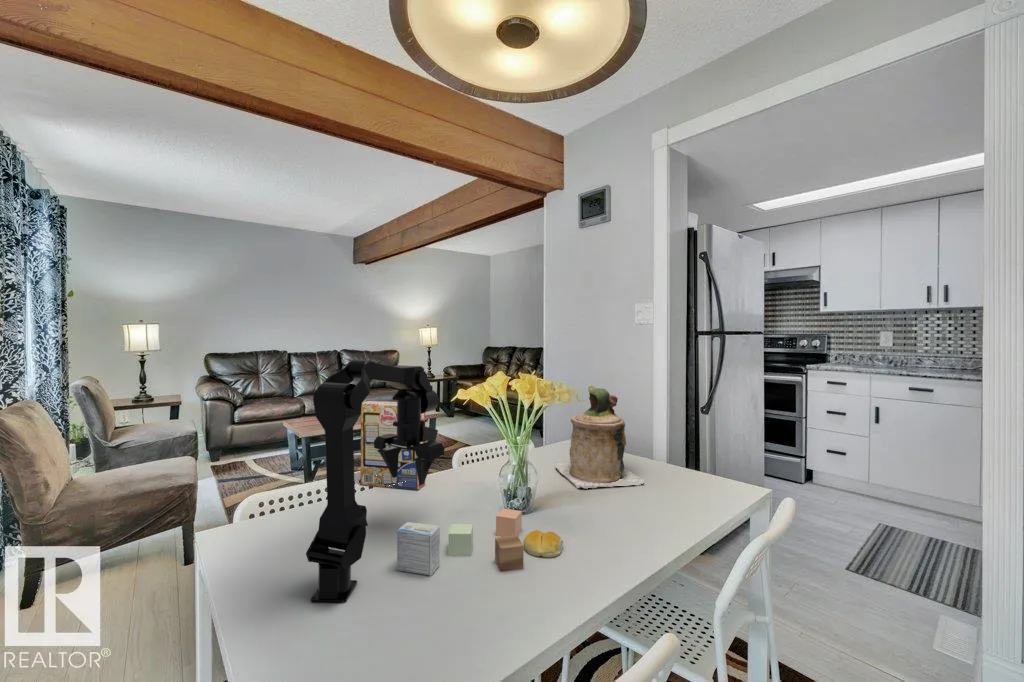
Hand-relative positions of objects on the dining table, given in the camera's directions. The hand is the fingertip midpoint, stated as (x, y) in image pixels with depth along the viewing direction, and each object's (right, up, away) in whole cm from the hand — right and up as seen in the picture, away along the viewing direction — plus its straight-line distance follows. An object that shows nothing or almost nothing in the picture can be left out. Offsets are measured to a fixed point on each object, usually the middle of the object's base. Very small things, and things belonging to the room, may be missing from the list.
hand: (407, 480), depth 107 cm
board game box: (-14, -13, +36) cm, 41 cm away
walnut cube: (+25, -14, -13) cm, 31 cm away
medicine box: (+6, -14, -15) cm, 21 cm away
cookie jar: (+55, -14, +47) cm, 74 cm away
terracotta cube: (+25, -14, +2) cm, 28 cm away
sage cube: (+14, -14, -7) cm, 21 cm away
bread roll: (+33, -14, -6) cm, 36 cm away
